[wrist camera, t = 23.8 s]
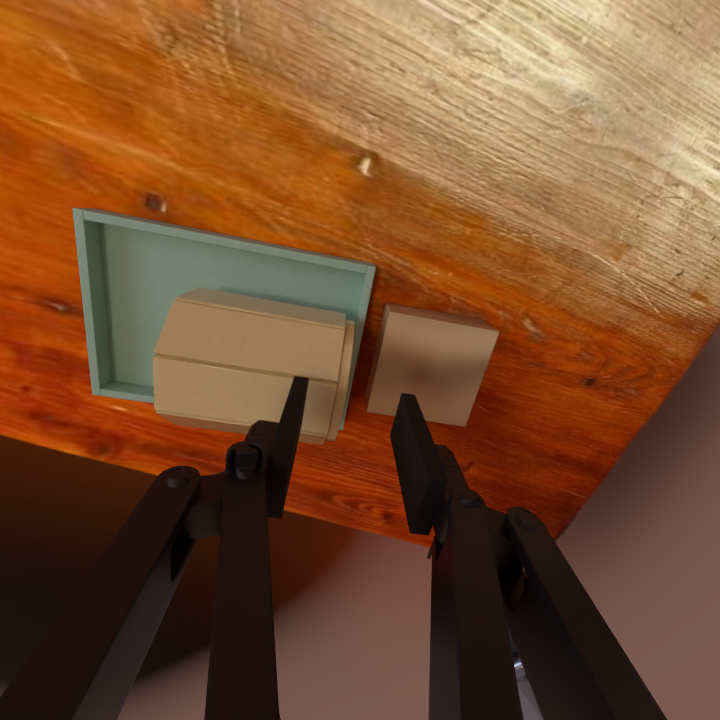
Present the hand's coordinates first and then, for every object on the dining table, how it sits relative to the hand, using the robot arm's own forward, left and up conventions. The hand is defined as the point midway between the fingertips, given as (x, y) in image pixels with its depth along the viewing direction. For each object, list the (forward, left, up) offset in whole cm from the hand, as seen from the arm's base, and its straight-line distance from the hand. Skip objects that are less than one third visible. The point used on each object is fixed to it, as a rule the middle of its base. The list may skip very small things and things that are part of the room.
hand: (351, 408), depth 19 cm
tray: (0, +9, -10) cm, 13 cm away
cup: (-1, 0, -5) cm, 5 cm away
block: (0, -6, -10) cm, 11 cm away
